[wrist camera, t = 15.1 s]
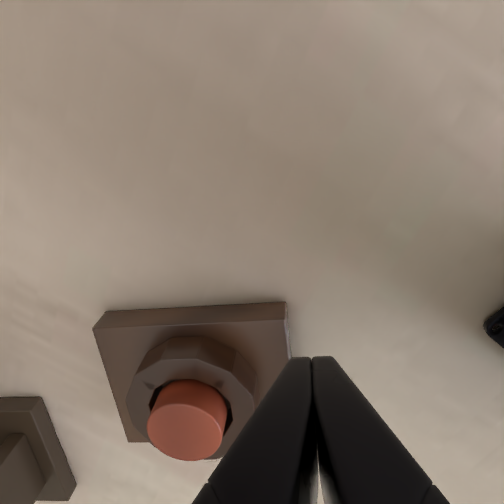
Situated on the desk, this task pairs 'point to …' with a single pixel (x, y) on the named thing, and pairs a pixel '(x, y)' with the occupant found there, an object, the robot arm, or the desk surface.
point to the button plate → (193, 358)
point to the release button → (187, 420)
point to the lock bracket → (31, 455)
